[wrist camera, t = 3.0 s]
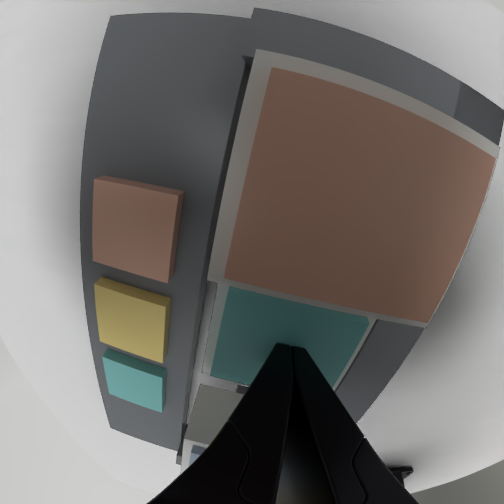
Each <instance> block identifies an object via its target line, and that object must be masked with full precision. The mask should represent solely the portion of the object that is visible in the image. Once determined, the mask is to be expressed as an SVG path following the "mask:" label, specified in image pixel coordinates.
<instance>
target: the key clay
mask: <svg viewBox="0 0 504 504" xmlns="http://www.w3.org/2000/svg"><path fill="white" fill-rule="evenodd" d="M499 150H500V147H499V146H497V145H496V144H494V143H493V142H491V141H490V140H488V139H487V138H485V137H484V136H482V135H481V134H479V133H478V132H476V131H474V130H473V129H471V128H469V127H468V126H466V125H464V124H463V123H461V122H459V121H457V120H456V119H454V118H452V117H450V116H448V115H446V114H445V113H443V112H441V111H439V110H437V109H435V108H433V107H431V106H429V105H427V104H425V103H423V102H421V101H419V100H417V99H415V98H412V97H410V96H408V95H406V94H404V93H401V92H399V91H397V90H394V89H392V88H390V87H387V86H385V85H382V84H380V83H377V82H374V81H372V80H369V79H366V78H364V77H361V76H358V75H355V74H352V73H349V72H346V71H343V70H340V69H337V68H334V67H331V66H327V65H324V64H320V63H317V62H313V61H309V60H305V59H302V58H298V57H293V56H289V55H285V54H280V53H275V52H271V51H265V50H260V49H256V52H255V56H254V60H253V64H252V68H251V72H250V76H249V80H248V84H247V88H246V92H245V96H244V100H243V104H242V109H241V113H240V117H239V122H238V126H237V130H236V135H235V139H234V144H233V148H232V153H231V158H230V162H229V167H228V172H227V176H226V181H225V186H224V191H223V196H222V201H221V206H220V211H219V216H218V221H217V226H216V232H215V237H214V242H213V248H212V253H211V259H210V264H209V270H208V276H207V280H208V281H212V282H216V283H220V284H224V285H228V286H232V287H236V288H240V289H244V290H248V291H252V292H256V293H261V294H265V295H269V296H273V297H277V298H282V299H286V300H290V301H295V302H299V303H304V304H308V305H313V306H317V307H322V308H326V309H331V310H336V311H341V312H345V313H350V314H355V315H360V316H365V317H370V318H375V319H380V320H385V321H390V322H395V323H401V324H406V325H411V326H417V327H423V328H427V326H428V325H429V323H430V321H431V319H432V318H433V316H434V314H435V312H436V311H437V309H438V307H439V305H440V303H441V302H442V300H443V298H444V296H445V294H446V292H447V290H448V288H449V286H450V284H451V282H452V280H453V278H454V276H455V274H456V272H457V270H458V268H459V265H460V263H461V261H462V259H463V257H464V254H465V252H466V250H467V247H468V245H469V243H470V240H471V238H472V235H473V233H474V230H475V228H476V225H477V222H478V220H479V217H480V214H481V211H482V208H483V206H484V203H485V200H486V197H487V193H488V190H489V187H490V184H491V180H492V177H493V173H494V170H495V166H496V162H497V158H498V154H499Z"/></svg>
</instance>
